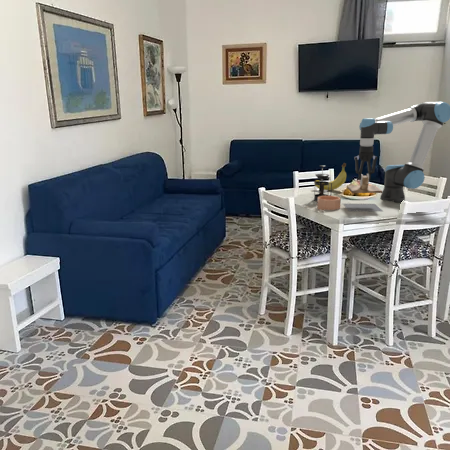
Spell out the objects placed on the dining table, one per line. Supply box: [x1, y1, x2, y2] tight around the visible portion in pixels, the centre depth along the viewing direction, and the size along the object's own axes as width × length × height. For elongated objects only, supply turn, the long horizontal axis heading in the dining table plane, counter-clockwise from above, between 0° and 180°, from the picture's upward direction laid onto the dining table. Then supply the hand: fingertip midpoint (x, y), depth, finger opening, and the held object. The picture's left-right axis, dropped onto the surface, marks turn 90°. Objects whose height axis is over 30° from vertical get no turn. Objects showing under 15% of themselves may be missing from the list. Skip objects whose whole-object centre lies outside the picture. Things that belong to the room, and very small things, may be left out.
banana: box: [313, 162, 347, 191], centre depth 323 cm, size 23×6×20 cm, turn 78°
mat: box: [342, 203, 383, 212], centre depth 270 cm, size 20×20×1 cm
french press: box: [313, 165, 333, 202], centre depth 291 cm, size 12×9×23 cm
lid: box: [346, 175, 383, 194], centre depth 266 cm, size 17×17×8 cm
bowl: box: [316, 195, 341, 211], centre depth 271 cm, size 13×13×6 cm
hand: (364, 185), depth 266 cm, fingers closed on lid, 3 cm apart
